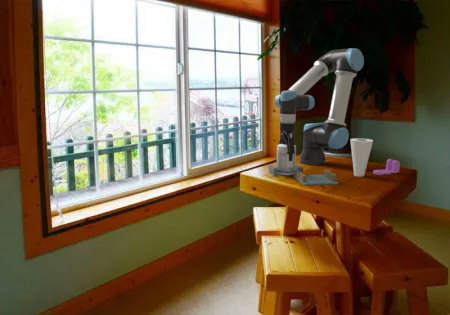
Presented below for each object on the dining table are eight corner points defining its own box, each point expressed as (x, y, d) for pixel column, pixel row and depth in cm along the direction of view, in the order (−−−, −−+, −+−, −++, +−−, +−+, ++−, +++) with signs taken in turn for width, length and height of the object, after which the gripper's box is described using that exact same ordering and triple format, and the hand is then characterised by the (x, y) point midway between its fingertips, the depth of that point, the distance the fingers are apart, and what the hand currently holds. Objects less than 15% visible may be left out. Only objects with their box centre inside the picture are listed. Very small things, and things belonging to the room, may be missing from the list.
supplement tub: (277, 171, 205) (278, 143, 202) (296, 172, 202) (297, 144, 199) (274, 175, 195) (275, 146, 193) (293, 176, 193) (295, 147, 190)
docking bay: (324, 176, 194) (325, 168, 194) (337, 184, 179) (338, 176, 178) (293, 176, 192) (293, 169, 191) (304, 185, 177) (304, 176, 176)
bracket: (391, 171, 207) (392, 158, 206) (398, 173, 202) (400, 160, 201) (370, 173, 203) (371, 159, 202) (378, 175, 198) (379, 161, 197)
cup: (359, 178, 190) (362, 141, 186) (343, 174, 199) (345, 139, 195) (375, 176, 194) (377, 140, 191) (358, 172, 204) (361, 138, 200)
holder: (296, 171, 205) (297, 163, 204) (303, 175, 195) (303, 167, 194) (268, 171, 203) (269, 164, 202) (273, 176, 193) (273, 168, 192)
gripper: (273, 120, 206) (272, 159, 209) (287, 124, 181) (285, 169, 185) (287, 120, 207) (285, 159, 210) (302, 124, 182) (300, 169, 186)
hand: (285, 164), depth 198 cm, fingers open, 13 cm apart
